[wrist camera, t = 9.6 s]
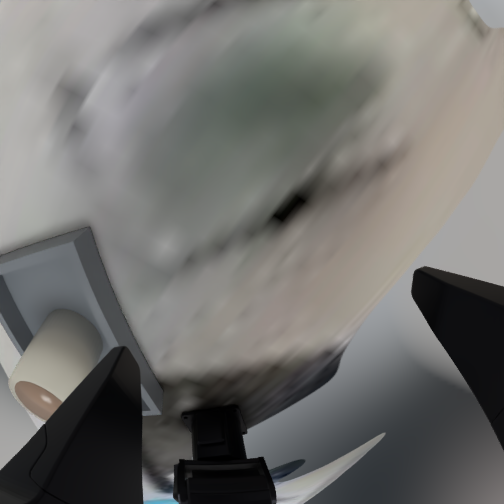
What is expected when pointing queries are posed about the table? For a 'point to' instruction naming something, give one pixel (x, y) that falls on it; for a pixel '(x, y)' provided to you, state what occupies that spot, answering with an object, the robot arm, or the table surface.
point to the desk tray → (68, 299)
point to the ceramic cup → (55, 362)
